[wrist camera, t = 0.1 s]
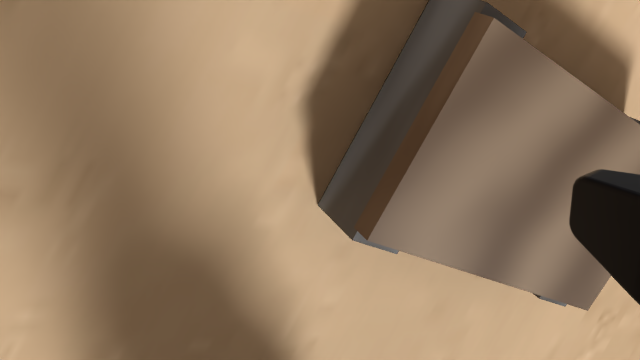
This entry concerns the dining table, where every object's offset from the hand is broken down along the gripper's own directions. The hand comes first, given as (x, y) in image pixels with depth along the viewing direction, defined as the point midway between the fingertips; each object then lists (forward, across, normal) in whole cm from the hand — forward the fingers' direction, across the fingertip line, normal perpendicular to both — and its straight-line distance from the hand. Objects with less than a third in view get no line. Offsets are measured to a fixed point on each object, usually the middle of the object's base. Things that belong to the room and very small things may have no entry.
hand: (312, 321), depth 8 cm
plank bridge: (+15, -15, +10) cm, 23 cm away
